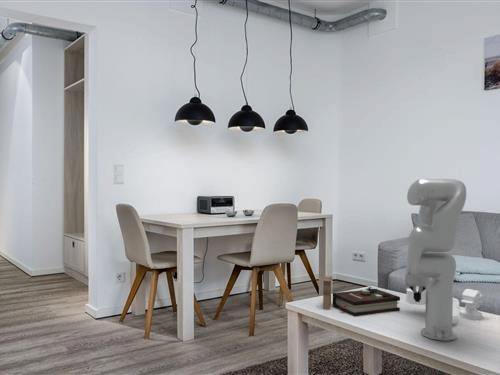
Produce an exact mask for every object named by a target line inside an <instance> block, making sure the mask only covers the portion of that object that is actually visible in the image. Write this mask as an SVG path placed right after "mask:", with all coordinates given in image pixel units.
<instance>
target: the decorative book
mask: <svg viewBox="0 0 500 375" xmlns="http://www.w3.org/2000/svg"><path fill="white" fill-rule="evenodd" d="M400 301H401V297H400V296H398V295H395V294H392V293H389V292H387V291H384V290H381V289H378V288H373V287H372V286H368V287H367V288H365V289H361V290H360V289H359V290H351V291H350V290H349V291H339V292H332V307H333V308H335V309H336V310H339V311H342V312H344V313H346V314H348V315H349V316H353V317H359V316H368V315H376V314H384V313H391V312H392V313H393V312H400V311H401V307H398V304H399V302H400Z"/></svg>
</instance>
